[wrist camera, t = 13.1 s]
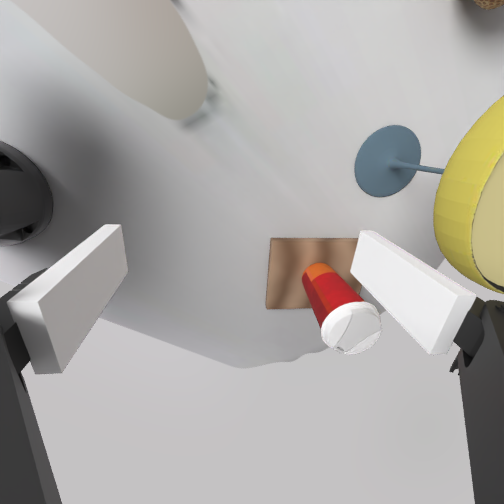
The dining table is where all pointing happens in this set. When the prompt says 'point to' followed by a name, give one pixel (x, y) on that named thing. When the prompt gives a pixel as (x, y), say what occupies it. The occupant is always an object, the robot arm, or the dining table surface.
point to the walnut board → (298, 259)
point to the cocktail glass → (451, 191)
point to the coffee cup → (340, 311)
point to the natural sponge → (489, 3)
